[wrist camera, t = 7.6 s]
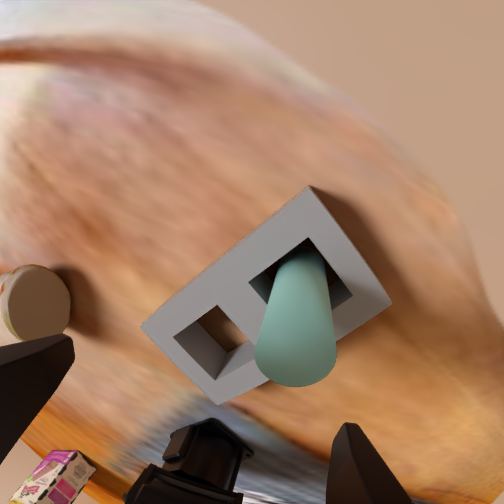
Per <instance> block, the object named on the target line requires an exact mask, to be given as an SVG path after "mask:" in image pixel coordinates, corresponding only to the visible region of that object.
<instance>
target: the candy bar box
mask: <svg viewBox="0 0 504 504" xmlns="http://www.w3.org/2000/svg"><path fill="white" fill-rule="evenodd" d="M96 470H97V469H96V468H95V467H94V466H93V465H92V464H91V463H90V462H89V461H88V460H87V459H86V458H85V457H84V456H83V455H82V454H81V453H80V452H79V451H63V450H52V451H51V452H50V453H49V454H48V455H47V457H46V458H45V459H44V460H43V461H42V462H41V464H40V465H39V466H38V467H37V468H36V469H35V471H34V472H33V473H32V474H31V475H30V476H29V478H28V479H27V480H26V481H25V482H24V483H23V484H22V486H21V487H20V488H19V489H18V490H17V491H16V493H15V494H14V495H13V496H12V497H11V498H10V500H9V501H8V502H9V503H10V504H72V503H73V502H74V500H75V499H76V497H77V496H78V494H79V493H80V492H81V490H82V489H83V488H84V486H85V485H86V484H87V482H88V481H89V479H90V478H91V476H92V475H93V474H94V472H95V471H96Z"/></svg>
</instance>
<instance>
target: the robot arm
mask: <svg viewBox="0 0 504 504" xmlns="http://www.w3.org/2000/svg"><path fill="white" fill-rule="evenodd" d="M74 360H75V352H74V346H73V340H72V338H71V337H69V336H67V335H65V334H63V333H60V334H56V335H51V336H47V337H43V338H38V339H34V340H29V341H24V342H20V343H15V344H10V345H6V346H1V347H0V465H1V463H2V462H3V460H4V459H5V457H6V456H7V454H8V453H9V452H10V450H11V449H12V448H13V446H14V445H15V443H16V442H17V441H18V439H19V438H20V437H21V435H22V434H23V433H24V431H25V430H26V429H27V427H28V426H29V425H30V423H31V422H32V421H33V419H34V418H35V417H36V416H37V414H38V413H39V412H40V410H41V409H42V408H43V406H44V405H45V404H46V403H47V401H48V400H49V399H50V398H51V396H52V395H53V394H54V392H55V391H56V389H57V388H58V386H59V384H60V383H61V381H62V380H63V378H64V377H65V375H66V373H67V372H68V370H69V369H70V367H71V366H72V364H73V362H74ZM170 438H171V441H170V443H169V445H168V447H167V449H166V451H165V453H164V454H163V456H162V459H163V460H164V461H165V463H164V465H163V467H162V468H159V467H157V466H156V465H154V464H152V463H151V464H150V465H149V466H148V468H147V469H146V468H145V469H144V471H143V472H142V474H141V475H140V476H139V478H138V479H137V481H136V482H135V483H134V485H133V486H132V487H131V488H130V489H129V490H128V491H126V492H125V493H124V495H123V500H124V502H125V504H242V501H243V495H244V494H243V493H239V492H238V493H236V492H233V489H234V485H235V482H236V478H237V474H238V471H239V467H240V464H241V461H243V460H246V459H249V458H252V457H253V455H254V452H253V451H252V450H250V449H249V448H248V447H247V446H245V445H244V444H243V443H242V442H240V441H239V440H238V439H237V438H235V437H234V436H233V435H232V434H230V433H229V432H228V431H227V430H226V429H224V428H223V427H222V426H221V425H220V424H218V423H217V422H216V421H215V420H213V419H210V418H209V419H206V420H203V421H201V422H198V423H196V424H193V425H189V426H186V427H183V428H181V429H178V430H176V431H175V432H173V433H171V435H170ZM326 504H415V503H412V499H411V498H410V497H409V495H408V494H407V493H406V491H405V490H404V488H403V487H402V486H401V484H400V483H399V481H398V480H397V479H396V477H395V476H394V474H393V473H392V472H391V470H390V469H389V467H388V466H387V465H386V463H385V462H384V460H383V459H382V458H381V456H380V455H379V453H378V452H377V451H376V449H375V448H374V446H373V445H372V443H371V442H370V441H369V439H368V438H367V436H366V435H365V434H364V432H363V431H362V429H361V428H360V426H359V425H358V424H356V423H348V422H345V423H344V424H343V425H342V426H341V428H340V430H339V431H338V433H337V435H336V436H335V438H334V440H333V444H332V451H331V458H330V465H329V472H328V478H327V487H326Z"/></svg>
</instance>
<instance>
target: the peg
mask: <svg viewBox="0 0 504 504" xmlns="http://www.w3.org/2000/svg"><path fill="white" fill-rule="evenodd" d="M254 357H255V361H256V364H257V366H258V368H259V370H260V371H261V372H262V373H263V374H264V375H265V376H266V377H267V378H268V379H270V380H271V381H273V382H275V383H278V384H280V385H284V386H289V387H302V386H308V385H311V384H314V383H316V382H318V381H320V380H322V379H323V378H324V377H326V376H327V375H328V374H329V373H330V371H331V370H332V369H333V367H334V365H335V362H336V358H337V349H336V341H335V333H334V325H333V318H332V311H331V304H330V297H329V291H328V284H327V278H326V272H325V266H324V261H323V259H322V257H321V255H320V254H319V253H318V252H317V251H315V250H314V249H312V248H310V247H306V246H298V247H294V248H293V249H292V250H290V251H289V252H288V253H286V254H285V255H284V256H283V257H282V258H281V261H280V264H279V267H278V271H277V274H276V278H275V281H274V285H273V288H272V291H271V295H270V298H269V302H268V305H267V308H266V312H265V315H264V318H263V322H262V325H261V328H260V332H259V335H258V338H257V341H256V345H255V349H254Z"/></svg>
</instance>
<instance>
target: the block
mask: <svg viewBox="0 0 504 504" xmlns="http://www.w3.org/2000/svg"><path fill="white" fill-rule="evenodd" d="M307 237H309V238H310V240H311V241H312V242H313V243H314V245H315V246H316V247H317V248H318V250H319V251H320V252H321V254H322V255H323V256H324V257H325V259H326V260H327V261H328V263H329V264H330V265H331V267H332V268H333V269H334V271H335V272H336V273H337V275H338V276H339V277H340V278H341V279H339V280H338V281H336V282H335V283H334V284H332V285H331V286H329V287H328V291H329V297H330V304H331V311H332V318H333V325H334V333H335V341H338V340H339V339H341V338H343V337H344V336H346V335H347V334H349V333H350V332H352V331H354V330H355V329H357V328H358V327H360V326H361V325H363V324H364V323H366V322H367V321H369V320H370V319H372V318H373V317H375V316H376V315H377V314H379V313H380V312H382V311H383V310H385V309H386V308H387V307H389V306H390V305H392V304H393V303H392V301H391V299H390V297H389V296H388V294H387V292H386V290H385V289H384V287H383V285H382V284H381V282H380V280H379V279H378V277H377V276H376V275H375V273H374V272H373V270H372V269H371V267H370V266H369V264H368V263H367V262H366V260H365V259H364V257H363V256H362V255H361V253H360V252H359V250H358V249H357V248H356V246H355V245H354V243H353V242H352V241H351V239H350V238H349V237H348V235H347V234H346V233H345V231H344V230H343V229H342V227H341V226H340V225H339V223H338V222H337V221H336V219H335V218H334V217H333V215H332V214H331V213H330V211H329V210H328V209H327V207H326V206H325V205H324V204H323V202H322V201H321V200H320V199H319V197H318V196H317V195H316V193H315V192H314V191H313V190H312V188H311V187H310V186H307V187H306V188H305V189H304V190H302V191H301V192H300V193H299V194H297V195H296V196H295V197H294V198H292V199H291V200H290V201H288V202H287V203H286V204H285V205H283V206H282V207H281V208H280V209H278V210H277V211H276V212H275V213H273V214H272V215H271V216H270V217H268V218H267V219H266V220H265V221H264V222H262V223H261V224H260V225H259V226H257V227H256V228H255V229H254V230H252V231H251V232H250V233H249V234H247V235H246V236H245V237H244V238H242V239H241V240H240V241H239V242H237V243H236V244H235V245H234V246H233V247H231V248H230V249H229V250H228V251H226V252H225V253H224V254H223V255H222V256H220V257H219V258H218V259H217V260H215V261H214V262H213V263H212V264H210V265H209V266H208V267H207V268H206V269H204V270H203V271H202V272H201V273H200V274H198V275H197V276H196V277H195V278H193V279H192V280H191V281H190V282H189V283H187V284H186V285H185V286H184V287H183V288H181V289H180V290H179V291H178V292H176V293H175V294H174V295H173V296H172V297H170V298H169V299H168V300H167V301H166V302H164V303H163V304H162V305H161V306H160V307H159V308H158V309H157V310H156V311H155V312H154V313H153V314H152V315H151V316H150V317H149V318H148V319H147V320H146V321H145V322H144V323H143V324H142V325H141V326H140V328H141V329H142V330H143V331H144V332H145V333H146V334H147V335H148V337H149V338H150V339H151V340H152V341H153V342H154V343H155V344H156V345H157V346H158V347H159V348H160V350H161V351H162V352H163V353H164V354H165V355H166V356H167V357H168V358H169V359H170V360H171V361H172V362H173V363H174V364H175V365H176V366H177V367H178V368H179V369H180V370H181V371H182V372H183V373H184V374H185V375H186V376H187V377H188V378H189V379H190V380H191V381H192V382H193V383H194V384H195V385H196V386H197V387H198V388H199V389H200V390H201V391H202V392H203V393H204V394H205V395H207V396H208V397H209V398H210V399H211V400H212V401H213V402H214V403H215V404H216V405H217V406H218V405H220V404H222V403H224V402H226V401H229V400H231V399H233V398H235V397H237V396H239V395H241V394H243V393H245V392H247V391H249V390H251V389H253V388H255V387H257V386H259V385H261V384H263V383H265V382H267V381H268V380H270V379H268V378H267V377H266V376H265V375H264V374H263V373H262V372H261V371H260V370H259V368H258V366H257V364H256V361H255V357H254V349H255V345H256V341H257V338H258V335H259V332H260V328H261V325H262V322H263V318H264V315H265V312H266V308H267V305H268V302H269V298H270V295H271V291H272V288H273V285H274V282H273V281H272V280H271V279H270V277H269V276H268V275H267V274H266V273H265V272H264V270H265V269H266V268H268V267H269V266H270V265H272V264H273V263H274V262H276V261H277V260H278V259H280V258H281V257H282V256H284V255H285V254H286V253H288V252H289V251H290V250H292V249H293V248H294V247H295V246H297V245H298V244H299V243H301V242H302V241H303V240H305V239H306V238H307ZM216 305H218V306H219V307H220V308H221V309H222V311H223V312H224V313H225V314H226V315H227V316H228V317H229V318H230V319H231V321H232V322H233V323H234V324H235V325H236V326H237V327H238V328H239V329H240V330H241V332H242V333H243V334H244V335H245V336H246V337H247V338H248V339H249V340H248V341H247V342H245V343H243V344H242V345H240V346H238V347H237V348H235V349H234V350H232V351H230V352H229V353H226V352H225V350H224V349H223V348H222V347H221V346H220V345H219V344H218V343H217V342H216V341H215V340H214V339H213V338H212V337H211V336H210V335H209V333H208V332H207V331H206V330H205V329H204V328H203V327H202V326H201V325H200V324H199V323H198V321H197V319H198V318H200V317H201V316H202V315H204V314H205V313H207V312H208V311H209V310H211V309H212V308H213V307H215V306H216Z"/></svg>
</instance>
